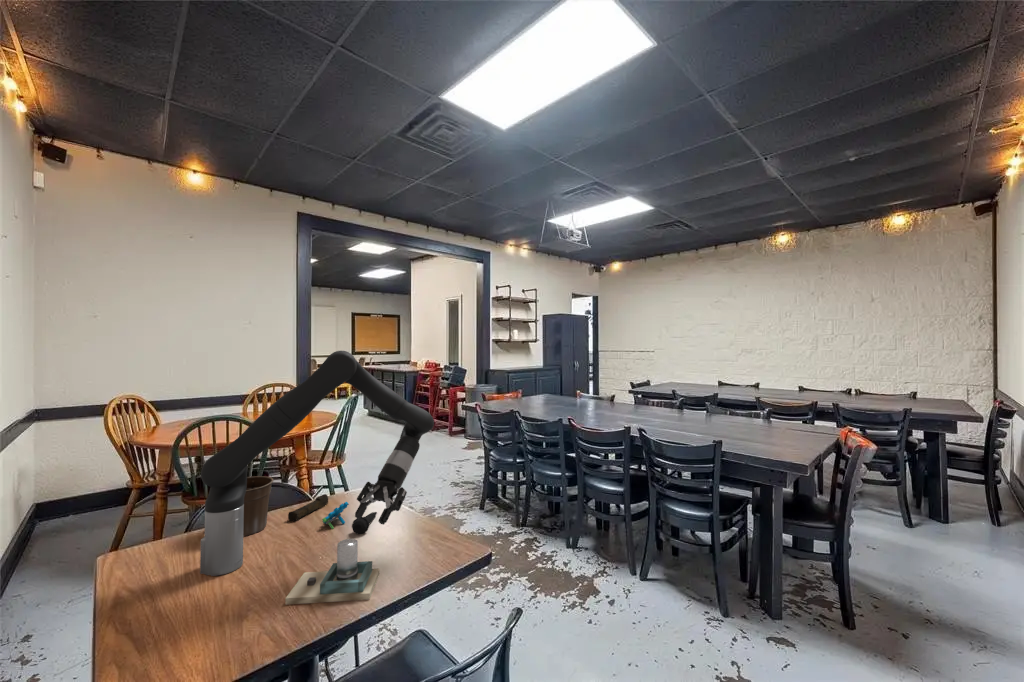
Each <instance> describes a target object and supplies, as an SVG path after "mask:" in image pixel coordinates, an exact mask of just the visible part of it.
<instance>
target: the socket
mask: <svg viewBox="0 0 1024 682" xmlns="http://www.w3.org/2000/svg"><path fill="white" fill-rule="evenodd" d="M358 542H359V541H358V539H355V538H347V539H346V538H344V539H342V540H340V541H338V543H337V545H336V547H337V549H336V551H337V552H336V557H337V559H336V563H337V581H343V580H357V576H358V568H357V565H358V562H359V561H358V558H359V557H358V552H359V551H358V550H359V549H358V548H359V546H358V545H359V544H358Z"/></svg>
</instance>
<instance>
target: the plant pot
mask: <svg viewBox="0 0 1024 682" xmlns="http://www.w3.org/2000/svg"><path fill="white" fill-rule="evenodd" d="M273 482H274V478H272V477H270V476H266V475H265V476H262V475H260V476H259V475H258V476H255V475H253V476H247V487H246V493H245V496H244V528H243V537H246V536H251V535H254V534H257V533H259V532H261V531H263V530H264V529H265V528H266V526H267V523H268V513H269V512H268V511H269V501H270V495H271V493H272V492H271V490H272V485H273Z"/></svg>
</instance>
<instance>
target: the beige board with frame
mask: <svg viewBox="0 0 1024 682" xmlns="http://www.w3.org/2000/svg"><path fill="white" fill-rule="evenodd" d="M357 568H358V576H357V580H343V581H337V562H333V563H332V564H331V566H330V568H329V569H328V570H325V571H308V572H305V571H304V572H303V574H302V575H301V577H300V578H299V579H298V580H297V582H296V584H295V585H294V586H293V587H292V589H291V590H290V591H289V593H288V595H287V596H285V602H284V603H285V606H286V605H299V604H300V605H302V604H316V603H318V604H319V603H333V602H349V601H350V602H351V601H366V600H368V601H369V600H370V599H371V597H372V594H373V592H374V590H375V586H376V583H377V581H378V579H379V577H378V576H380V572H381V570H380V568H373V560H370V561H369V560H368V561H358V565H357Z"/></svg>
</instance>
